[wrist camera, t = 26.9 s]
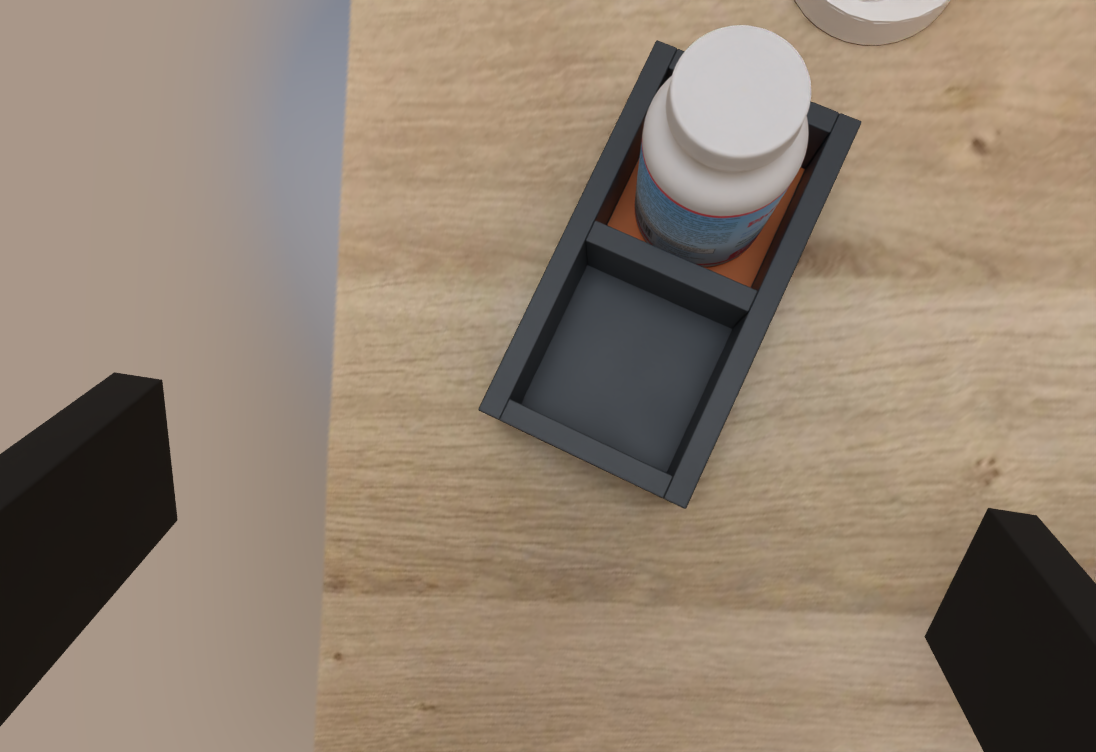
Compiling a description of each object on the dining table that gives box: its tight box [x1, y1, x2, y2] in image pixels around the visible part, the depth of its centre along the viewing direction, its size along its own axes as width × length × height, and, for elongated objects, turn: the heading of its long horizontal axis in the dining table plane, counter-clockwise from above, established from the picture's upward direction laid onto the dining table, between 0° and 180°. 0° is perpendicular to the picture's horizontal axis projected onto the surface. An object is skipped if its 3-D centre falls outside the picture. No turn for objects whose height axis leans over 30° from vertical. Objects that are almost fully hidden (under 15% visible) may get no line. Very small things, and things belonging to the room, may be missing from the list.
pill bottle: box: [635, 25, 811, 267], centre depth 30 cm, size 6×6×11 cm
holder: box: [479, 41, 861, 509], centre depth 34 cm, size 10×18×5 cm, turn 155°
